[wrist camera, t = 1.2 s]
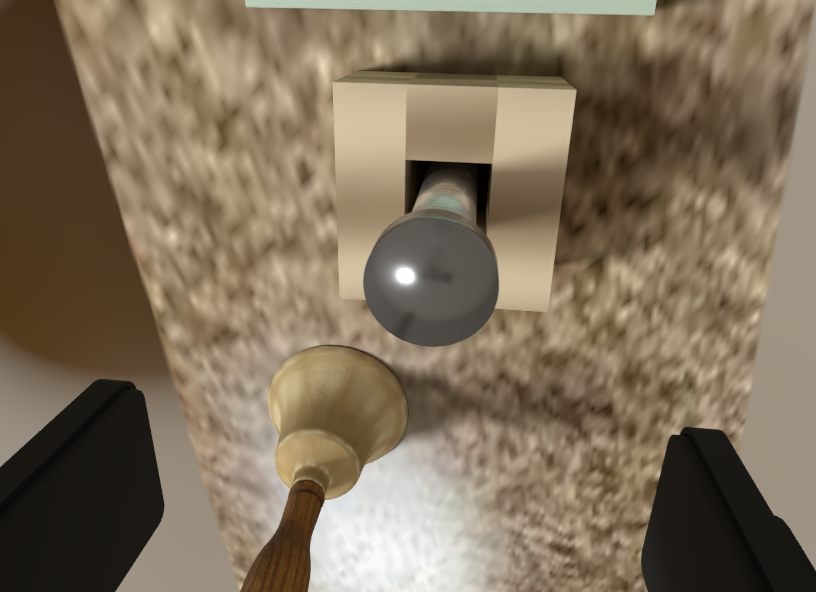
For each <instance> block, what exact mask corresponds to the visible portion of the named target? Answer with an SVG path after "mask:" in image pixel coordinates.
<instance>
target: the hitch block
mask: <svg viewBox="0 0 816 592" xmlns="http://www.w3.org/2000/svg"><path fill="white" fill-rule="evenodd" d="M576 91H577V90H576V89H575V88H574V87H572V86H571V85H570V84H569V83H568V82H566V81H565V80H564V79H563V78H562V77H546V76H513V75H480V74H447V73H414V72H381V71H356V72H354V73H352V74H350V75H347V76H345V77H343V78H341V79H338V80H336V81H334V82H333V106H334V136H335V167H336V198H337V229H338V260H339V290H340V298H346V299H361V300H366V299H365V294H364V288H363V275H364V270H365V266H366V263H367V260H368V258H369V256H370V254H371V252H372V249H373V247H374V245H375V243H376V241H377V240H378V238H379V236H380V235H381V233H382V232H383V231H384V230H385V229H386V228H387V227H388V226H389V225H390V224H391V223H392V222H393V221H395V220H396V219H398V218H400V217H401V216H403V215H406V214H408V213H410V212H412V211H413V208H414V205H415V202H416V196H417V160H422V161H444V162H467V163H490V164H489V177H488V191H487V204H486V211H484V210H477V213H476V225H477V226H478V227H479V228H480V229H481V230H482V231H483V232H484V233H485V234H486V235H487V237H488V238H489V240H490V242H491V243H492V245H493V248H494V250H495V253H496V257H497V262H498V274H499V294H498V300H497V303H496V306H495V309H510V310H525V311H540V312H548V305H549V297H550V289H551V282H552V274H553V266H554V259H555V251H556V243H557V236H558V228H559V221H560V213H561V205H562V198H563V190H564V182H565V175H566V167H567V159H568V152H569V144H570V136H571V129H572V121H573V113H574V106H575V98H576Z"/></svg>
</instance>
